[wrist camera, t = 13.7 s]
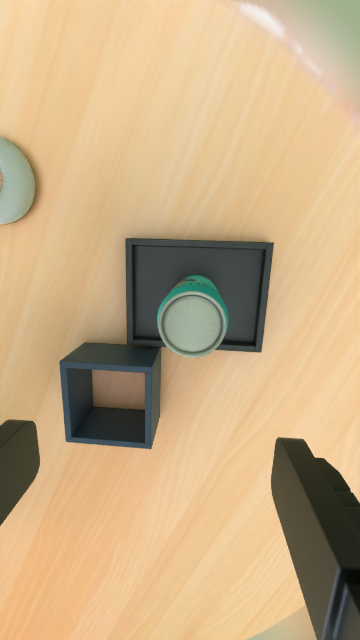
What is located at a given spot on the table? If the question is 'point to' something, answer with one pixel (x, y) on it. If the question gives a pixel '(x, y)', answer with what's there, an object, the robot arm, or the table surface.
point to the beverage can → (193, 317)
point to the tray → (208, 261)
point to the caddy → (110, 422)
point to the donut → (14, 183)
